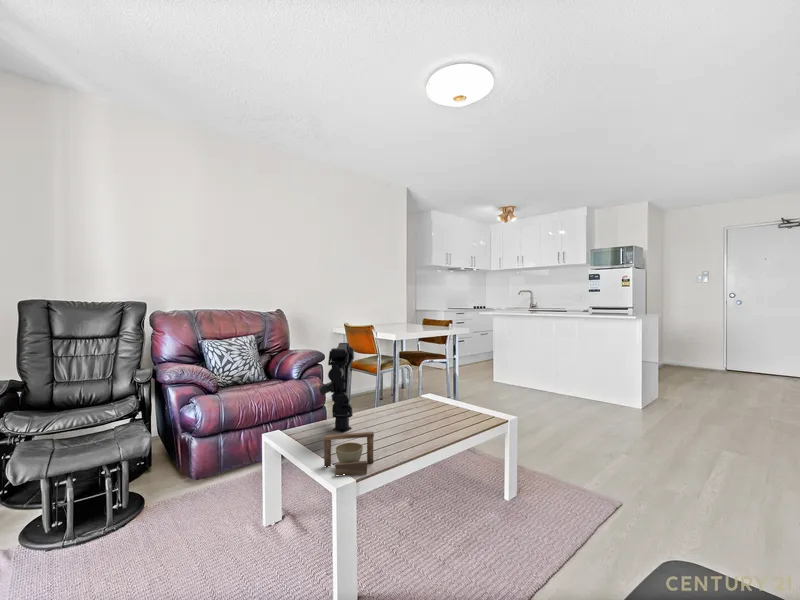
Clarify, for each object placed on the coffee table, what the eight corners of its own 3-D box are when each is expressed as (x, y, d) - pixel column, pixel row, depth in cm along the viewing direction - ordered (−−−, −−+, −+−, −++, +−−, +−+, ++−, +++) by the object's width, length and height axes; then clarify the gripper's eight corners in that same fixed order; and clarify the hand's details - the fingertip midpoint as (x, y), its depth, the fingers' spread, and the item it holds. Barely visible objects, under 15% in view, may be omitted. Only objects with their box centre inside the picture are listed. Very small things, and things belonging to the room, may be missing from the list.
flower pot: (350, 458, 151) (350, 440, 151) (368, 466, 144) (368, 446, 144) (330, 466, 143) (330, 447, 143) (347, 475, 137) (347, 455, 137)
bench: (324, 464, 145) (324, 435, 145) (372, 460, 149) (372, 431, 149) (324, 477, 135) (324, 445, 135) (377, 472, 139) (377, 441, 139)
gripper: (319, 373, 178) (319, 407, 178) (320, 382, 160) (320, 419, 160) (343, 372, 181) (343, 406, 181) (347, 381, 163) (347, 418, 163)
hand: (338, 412), depth 171 cm, fingers closed
